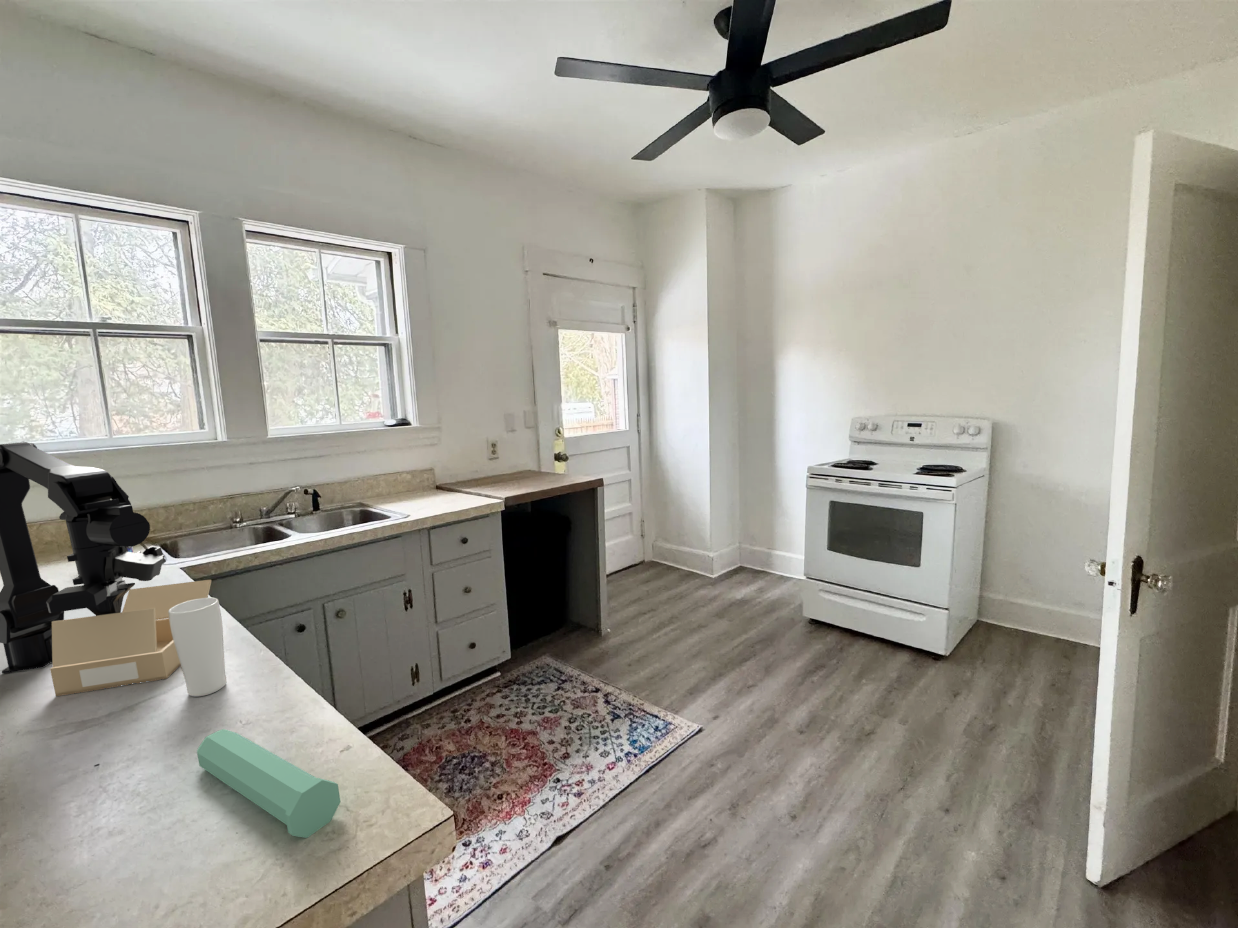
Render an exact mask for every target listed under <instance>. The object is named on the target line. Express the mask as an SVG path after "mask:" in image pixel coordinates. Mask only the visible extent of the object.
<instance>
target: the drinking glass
mask: <svg viewBox="0 0 1238 928" xmlns="http://www.w3.org/2000/svg"><path fill="white" fill-rule="evenodd" d="M168 613H169V622H170V628H171V633H172V637H173V641H174V644H175V648H176V651H177V654H178V658H179V661H180V664H181V665H180V667H181V670H182V675H183V679H184V680H185V681H184V682H185V684H186V685H185V686H186V687H185V688H186V691H187V694H188V695H189V696H191V697H198V698H199V697H203V696H208V695H211V694H213V693H215V692H218V691H219V690H221V689H223V688H224V686H225V685H226V684H227V675H226V666H225V665H226V664H225V663H226V661H225V647H224V628H223V627H224V626H223V618H222V617H223V616H222V611H221V606H220V602H219V598H216V597H208V598H200V599H195V600H190V601H187V602H183V603H180V604H178V605H176V606H174V607H172V608H170V609H169V611H168Z"/></svg>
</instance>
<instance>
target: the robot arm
mask: <svg viewBox="0 0 1238 928" xmlns="http://www.w3.org/2000/svg"><path fill="white" fill-rule="evenodd" d="M30 481H33V482H34V483H36V484H38V485H40V486H42V487H43V488H45V489H46V490H47V498H48V499H49V500H50V501H52V502H53V503H54V504H56V505H57V506H58V508H59V509H61V510H62V511H63V512H61V513H60V514H59V516H58V518H59V519H60V521H65V524H66V528H67V532H68V536H69V541H70V545H71V550H72V553H71V554H69V555H67V556H66V559H67V562H68V563H70V562H75V566H76V570H77V576H76V577H75V578H73V579H72V584H73V586H68V587H64V588H63V589H61V590H59V587H57V586H56V585H55V584H52V585H51V584H50V583H48V582H47V581H45V580H44V579H43V578H42V577H41V574H40V573H41V572H40V570H39V566H38V561H37V558H36V554H35V550H34V546H33V543H32V538H31V534H30V531H29V527H28V523H27V518H26V515H25V512H24V507H23V502H24V501H25V498H26V497H27V495H28V494H29V491H30V489H31V483H30ZM129 498H130V497H129V494H127V493H126V492H125V490H124V489H122V487H121V486H120V484H118V482H117V480H116V479H115V478H114V477H113V476H112V475H111V474H110V472H108V471H107V470H105V469H102V468H97V467H93V466H76V465H73V464H70V463H68V462H66V461H64V460H62V459H60V458H58V457H55V456H54V455H52V454H49V453H48V452H45V451H43V450H42V449H39V448H38V447H37V446H36V444H35V443H32V442H28V441H21V442H11V443H0V576H1V579H2V584H3V587H2V588H1V590H0V644H3V649H4V653H5V657H6V662H7V667H6V668H3V669H2V670H1V673H2V674H8V673H15V672H19V671H20V672H21V671H27V670H35V669H39V668H40V669H42V668H45V667H46V666H48V665H50V664H51V663H53V662H52V622H53V621H60V620H65V612H68V611H75V610H83V609H87V610H88V611H90V612H91V613H92V614H94V616H98V615H106V614H113V613H121V612H122V605H123V601H124V597H125V595H126V594H128V592H129V590H130V589H133V587H134V586H135V585H136V583H135V582H129V583H126V580H123V578H127V579H133V580H138V581H139V582H140V581H141V582H149V581H151V580H153V579H154V578H155V577H156V576H159V575H160V574H161V572H162V571H161V570H162V565H164V564H165V563H166V562H167V559H166V557H165V556H166V555H165V554H164V553H163V550H162V548H161V546H155V545H151V546H149V547H147V548H145V550H144V551H143V552H142V551H140V550H138V551H137V552H134V551H133V552H128V549H127V547H137V546H138V545H140V544H142V543H143V542H145V541H146V539H147V538H148V536H149V534H150V531H151V525H150V524H151V523H150V521H148V519H147V518H146V517H145V516H144V515H143V514H141V513H138V512H134V509H133V505H132V503H131V501H130V499H129Z"/></svg>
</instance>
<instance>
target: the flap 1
mask: <svg viewBox="0 0 1238 928" xmlns="http://www.w3.org/2000/svg"><path fill="white" fill-rule="evenodd" d="M152 652H157V640H156V613H155V608H151V609H144V610H136V611H129V612H122V611H121V613H113V614H106V615H98V616H96V615H92V616H91V615H90V616H84V617H77V618H76V617H75V618H70V619H69V618H68V619H64V620H60V621H53V622H52V662H51V663H52V667H57V666H64V665H71V664H77V663H84V662H91V661H98V660H104V659H111V658H118V657H125V656H131V655H138V654H145V653H152Z"/></svg>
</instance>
